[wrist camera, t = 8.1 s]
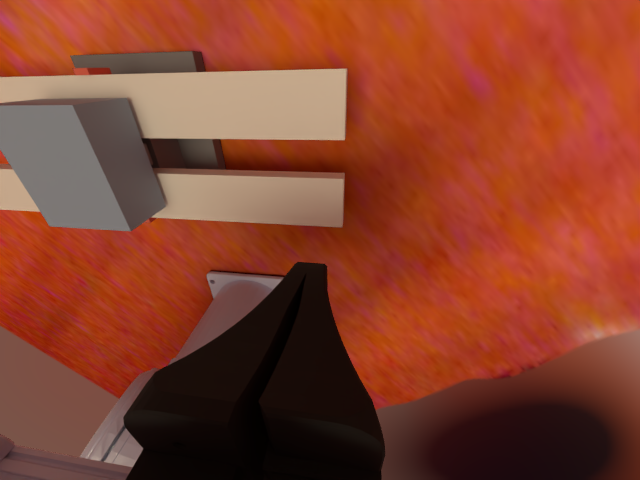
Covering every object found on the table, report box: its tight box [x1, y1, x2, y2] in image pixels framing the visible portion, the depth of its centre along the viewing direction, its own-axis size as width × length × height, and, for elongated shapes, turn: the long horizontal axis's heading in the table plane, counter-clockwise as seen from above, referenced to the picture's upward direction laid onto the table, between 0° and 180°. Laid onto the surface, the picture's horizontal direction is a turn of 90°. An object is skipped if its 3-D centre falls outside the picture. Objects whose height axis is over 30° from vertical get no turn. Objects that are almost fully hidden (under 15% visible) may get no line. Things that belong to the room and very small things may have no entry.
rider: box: [0, 98, 166, 231], centre depth 15 cm, size 5×6×4 cm
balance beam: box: [0, 51, 348, 227], centre depth 17 cm, size 26×10×5 cm, turn 91°
